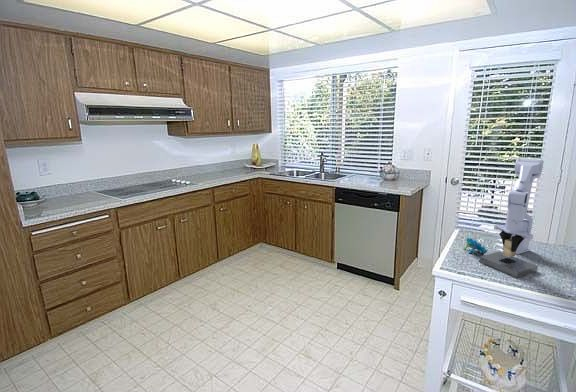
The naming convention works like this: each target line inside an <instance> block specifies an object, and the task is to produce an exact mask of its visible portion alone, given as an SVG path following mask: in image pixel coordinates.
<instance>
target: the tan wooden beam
mask: <svg viewBox="0 0 576 392" xmlns="http://www.w3.org/2000/svg"><path fill="white" fill-rule="evenodd" d="M511 248H512V238H510V239H506V240H505V244H504V249H503V250H502V253H503V255H504V256H507V257H512V256H513V257H516V251H515V252H511Z"/></svg>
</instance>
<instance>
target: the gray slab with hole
mask: <svg viewBox="0 0 576 392" xmlns="http://www.w3.org/2000/svg"><path fill="white" fill-rule="evenodd" d="M478 262H479V263H481V264H484V265H486V266H488V267H491V268H492V269H495V270H497V271H500V272H503V273H505V274H507V275H508V276H512V277H514V278H516V279H517V278H518V279H519V278H521V277H524V276H526V275H529V274H533V273H536V272H537V271H538V268H539V265H536V264H533V263H532V262H528V261H526V260H523V259H521V258H517V257H516V256H512V257H507V256H504V255H503V251H495V252H491V253H489V254H485V255H481V256H480V255H479V260H478Z"/></svg>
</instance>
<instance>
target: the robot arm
mask: <svg viewBox="0 0 576 392" xmlns="http://www.w3.org/2000/svg"><path fill="white" fill-rule="evenodd" d="M543 168H544V160H543V159H535V158H534V159H532V158H517V159H516V161H515V164H514V174H515V176H516V177H518V179H516V180H515V181H514V184H513V186H512V190H511V191H509V192H508V196H507V207H506V208H507V214H506V219H505V225H503V224H494V226H493V230H498V231H500V232H499V233H498V234H499V236H500V239H501V242H502V246H501V249H503V250H504V244H505V240H506V239H510V238H512V248H511V252H515V251H516V254H517V255H519V254H523V253H526V252H529V251H531V249H529V246H530V242H531V240H533V239H534V234H531V232H532V228H533V224H534V223H533V220H534V218H533V217H532V216H531V215H530V214H529V213H528V209H529V203H530V196H531V191H532V186H533V182H534V181H535V180H536V179H538V178H541V175H542V172H543ZM516 254H515V255H516Z"/></svg>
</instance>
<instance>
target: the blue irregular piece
mask: <svg viewBox="0 0 576 392" xmlns="http://www.w3.org/2000/svg"><path fill="white" fill-rule="evenodd" d="M465 243H466V244H465V245H466V246H464V248H463V250H466V249H467V248H471V249H470V250H469V251H468V254H472V253H474V251H475V250H476V251H479V252H481V253H482V254H487V252H488V250H487V249H486V247H484V246H482V243H480V242H477V240H475V239H473V238H470V237H467V238H466V241H465Z"/></svg>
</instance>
